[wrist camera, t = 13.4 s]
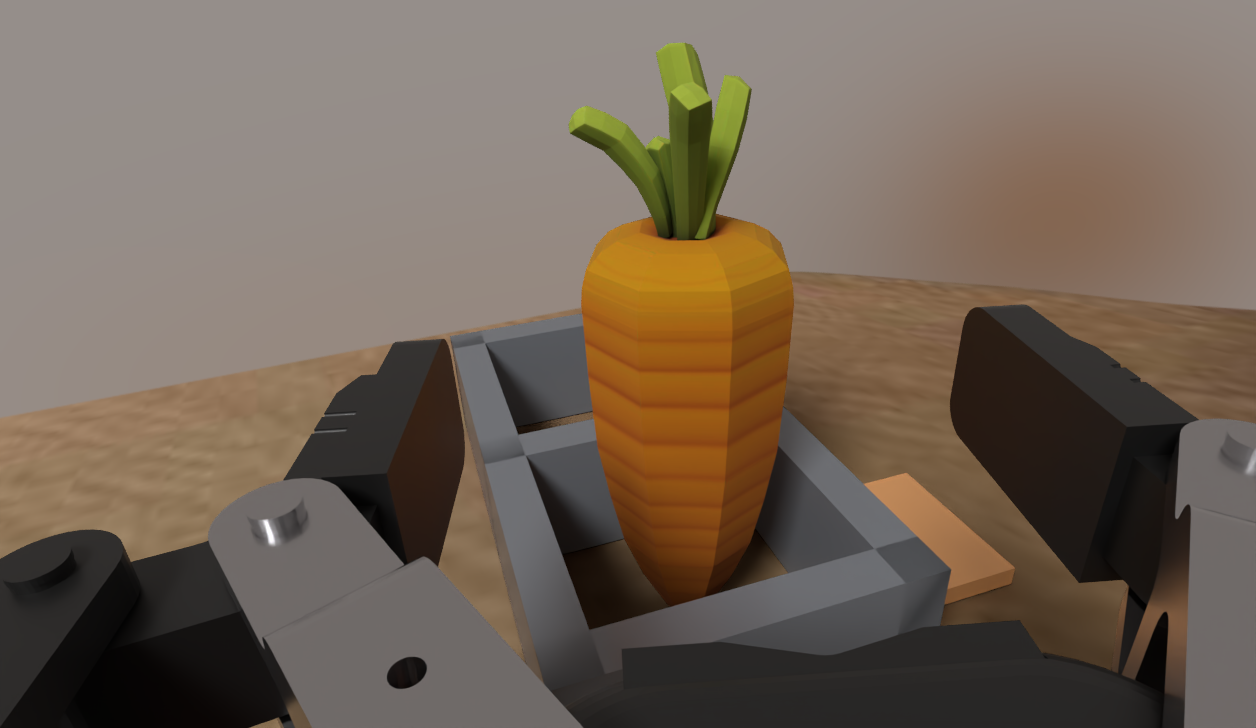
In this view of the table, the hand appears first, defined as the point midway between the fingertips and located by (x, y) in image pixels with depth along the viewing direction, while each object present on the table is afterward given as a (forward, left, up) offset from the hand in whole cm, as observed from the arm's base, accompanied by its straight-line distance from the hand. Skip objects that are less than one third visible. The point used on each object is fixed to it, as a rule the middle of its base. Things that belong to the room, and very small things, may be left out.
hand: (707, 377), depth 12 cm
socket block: (-4, -9, -11) cm, 15 cm away
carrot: (-2, -5, -11) cm, 12 cm away
